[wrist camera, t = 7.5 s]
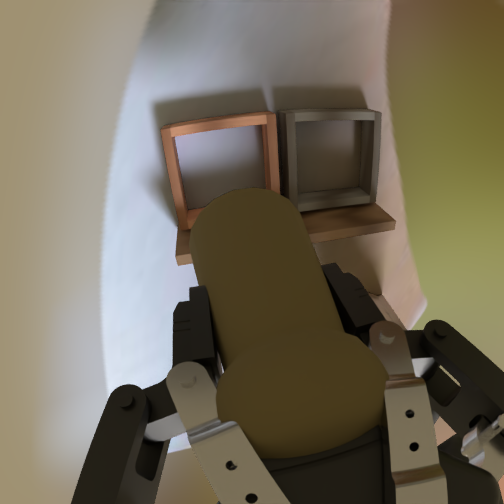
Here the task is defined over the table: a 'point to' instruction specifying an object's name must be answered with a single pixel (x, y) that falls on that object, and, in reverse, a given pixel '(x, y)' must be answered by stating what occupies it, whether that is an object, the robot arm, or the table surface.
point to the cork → (280, 330)
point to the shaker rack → (293, 174)
